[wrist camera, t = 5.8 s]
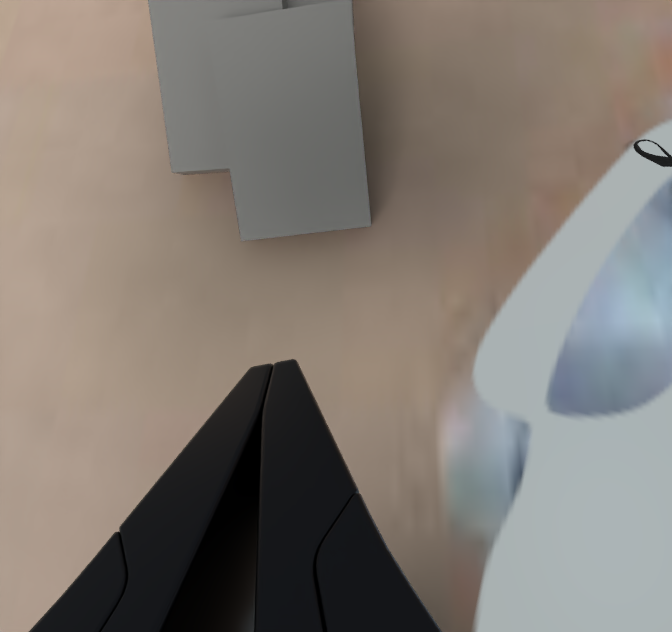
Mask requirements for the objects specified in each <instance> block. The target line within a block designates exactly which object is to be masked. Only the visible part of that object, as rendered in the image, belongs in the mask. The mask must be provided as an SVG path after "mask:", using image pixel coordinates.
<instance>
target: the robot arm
mask: <svg viewBox="0 0 672 632" xmlns="http://www.w3.org/2000/svg"><path fill="white" fill-rule="evenodd" d="M119 531H120V532H115V533H114V534H113V535H112V537H111V538H110V539H109V540H108V541H107V543H106V544H105V545H104V546H103V547H102V549H101V550H100V551H99V552H98V554H97V555H96V556H95V557H94V558H93V560H92V561H91V562H90V563H89V564H88V565H87V567H86V568H85V569H84V570H83V571H82V572H81V574H80V575H79V576H78V577H77V578H76V579H75V581H74V582H73V583H72V584H71V585H70V587H69V588H68V589H67V590H66V591H65V592H64V594H63V595H62V596H61V597H60V598H59V599H58V600H57V601H56V602H55V604H54V605H53V606H52V607H51V608H50V609H49V610H48V611H47V612H46V613H45V615H44V616H43V617H42V618H41V619H40V620H39V621H38V622H37V623H36V624H35V626H34V627H33V628H32V629H31V630H30V631H29V632H442V631H441V630H440V628H439V627H438V625H437V624H436V622H435V621H434V619H433V618H432V616H431V615H430V613H429V612H428V610H427V609H426V607H425V606H424V604H423V603H422V601H421V600H420V598H419V597H418V595H417V594H416V592H415V591H414V589H413V588H412V586H411V584H410V583H409V581H408V580H407V578H406V576H405V575H404V573H403V572H402V570H401V568H400V567H399V565H398V563H397V562H396V560H395V559H394V557H393V555H392V554H391V552H390V551H389V549H388V547H387V545H386V543H385V541H384V539H383V538H382V536H381V534H380V532H379V530H378V528H377V526H376V524H375V522H374V520H373V519H372V517H371V515H370V513H369V510H368V508H367V506H366V504H365V502H364V500H363V498H362V496H361V494H359V490H358V488H357V486H356V484H355V482H354V480H353V477H352V475H351V473H350V471H349V469H348V467H347V465H346V463H345V461H344V459H343V457H342V454H341V452H340V450H339V448H338V446H337V444H336V442H335V440H334V438H333V436H332V433H331V431H330V429H329V427H328V425H327V423H326V421H325V419H324V417H323V415H322V412H321V410H320V408H319V406H318V404H317V402H316V400H315V398H314V396H313V394H312V392H311V389H310V387H309V385H308V383H307V381H306V379H305V377H304V375H303V373H302V371H301V368H300V366H299V364H298V362H297V361H296V360H295V359H291V360H286V361H281V362H276V363H275V364H274V365H273V364H264V365H259V366H254V367H251V368H250V369H249V370H248V371H247V372H246V374H245V375H244V376H243V377H242V378H241V380H240V381H239V382H238V383H237V385H236V386H235V387H234V388H233V389H232V391H231V392H230V393H229V394H228V396H227V397H226V398H225V399H224V400H223V402H222V403H221V404H220V405H219V406H218V408H217V409H216V410H215V411H214V413H213V414H212V415H211V416H210V417H209V419H208V420H207V421H206V422H205V424H204V425H203V426H202V427H201V428H200V430H199V431H198V432H197V433H196V434H195V436H194V437H193V438H192V439H191V441H190V442H189V443H188V444H187V445H186V447H185V448H184V449H183V450H182V452H181V453H180V454H179V455H178V456H177V458H176V459H175V460H174V461H173V462H172V464H171V465H170V466H169V467H168V469H167V470H166V471H165V472H164V473H163V475H162V476H161V477H160V478H159V480H158V481H157V482H156V483H155V484H154V486H153V487H152V488H151V489H150V491H149V492H148V493H147V494H146V495H145V497H144V498H143V499H142V500H141V501H140V503H139V504H138V505H137V506H136V508H135V509H134V510H133V511H132V512H131V514H130V515H129V516H128V517H127V519H126V520H125V521H124V522H123V523H122V525H121V526H120V528H119Z"/></svg>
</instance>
